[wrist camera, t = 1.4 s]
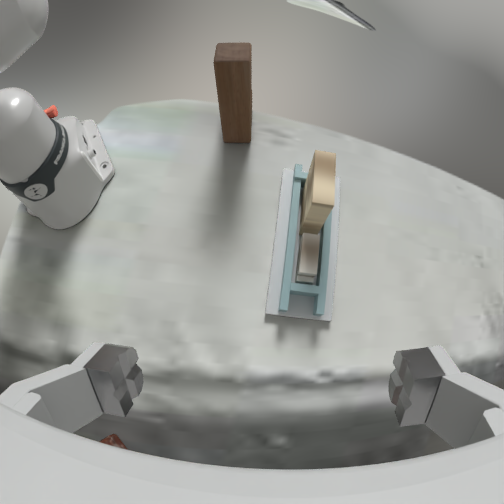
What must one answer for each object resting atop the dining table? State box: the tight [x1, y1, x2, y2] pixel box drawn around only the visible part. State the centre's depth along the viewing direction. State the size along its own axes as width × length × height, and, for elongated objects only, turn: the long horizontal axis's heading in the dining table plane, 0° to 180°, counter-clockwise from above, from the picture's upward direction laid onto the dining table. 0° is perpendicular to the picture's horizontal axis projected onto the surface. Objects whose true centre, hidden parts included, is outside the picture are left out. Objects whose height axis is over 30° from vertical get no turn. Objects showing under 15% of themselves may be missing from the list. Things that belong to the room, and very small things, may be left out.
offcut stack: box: [295, 233, 320, 285], centre depth 42 cm, size 6×2×4 cm, turn 172°
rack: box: [265, 164, 340, 321], centre depth 43 cm, size 22×9×4 cm, turn 172°
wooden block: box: [214, 43, 252, 143], centre depth 43 cm, size 9×4×18 cm, turn 179°
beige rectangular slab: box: [299, 150, 336, 235], centre depth 40 cm, size 7×2×11 cm, turn 172°
